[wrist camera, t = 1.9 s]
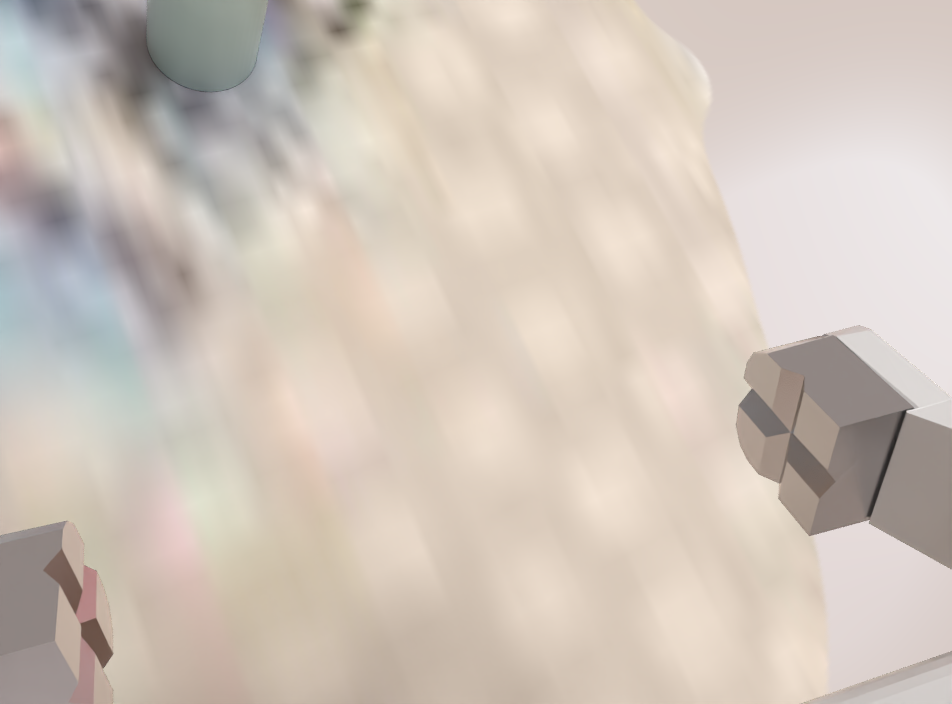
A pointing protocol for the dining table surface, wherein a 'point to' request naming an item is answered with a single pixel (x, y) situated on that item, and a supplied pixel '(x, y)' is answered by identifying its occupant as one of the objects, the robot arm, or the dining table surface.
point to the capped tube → (205, 40)
